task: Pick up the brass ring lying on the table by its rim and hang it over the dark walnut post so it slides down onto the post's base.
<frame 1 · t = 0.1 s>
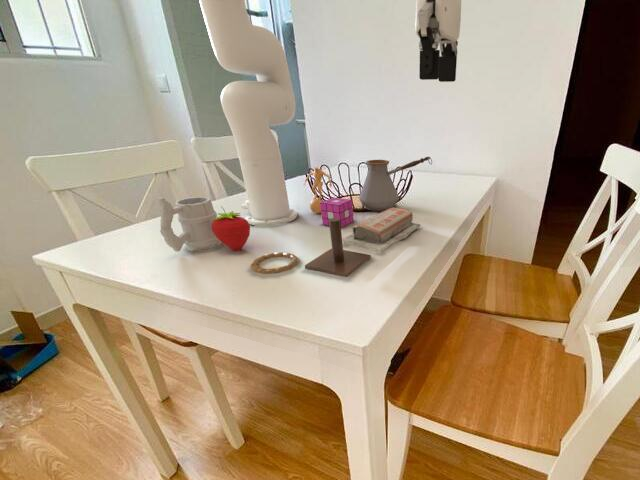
hand: (438, 80, 60), 31 cm above the table, tool pointing down, fingers open, 9 cm apart
strawberry: (237, 253, 71), on the table
brown peg stand: (339, 265, 66), on the table
packaged product: (383, 237, 79), on the table
coffee pot: (394, 209, 99), on the table
ring: (275, 263, 65), point 1 cm above the table
figurine: (320, 212, 96), on the table
mug: (198, 249, 73), on the table
puzzle toy: (338, 223, 88), on the table
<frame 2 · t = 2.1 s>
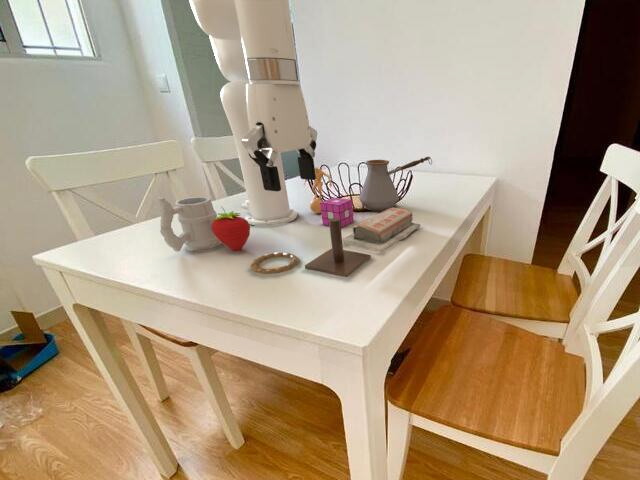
hand: (291, 184, 62), 15 cm above the table, tool pointing down, fingers open, 9 cm apart
nothing on the table moved.
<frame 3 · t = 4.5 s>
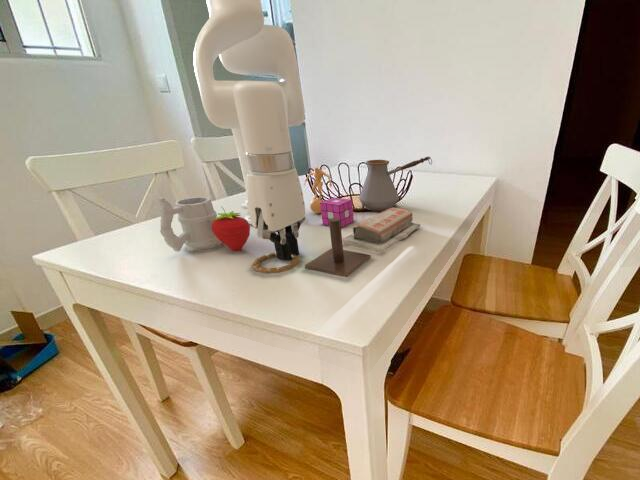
hand: (288, 258, 68), 0 cm above the table, tool pointing down, fingers closed on ring, 1 cm apart
ring: (276, 262, 65), point 1 cm above the table, touching gripper
everything else where it was.
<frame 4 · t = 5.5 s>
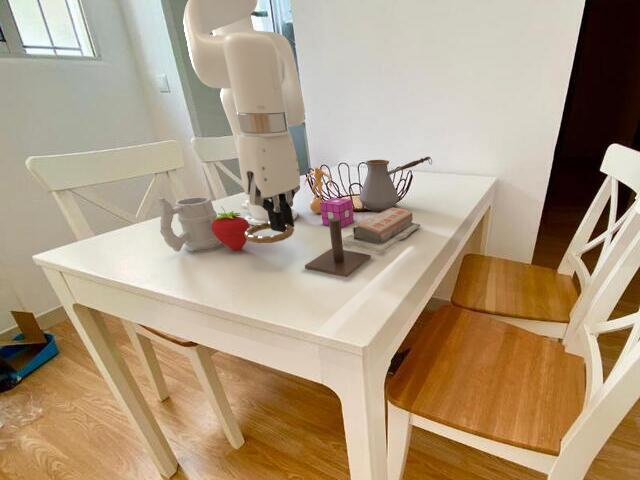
hand: (282, 228, 66), 6 cm above the table, tool pointing down, fingers closed on ring, 1 cm apart
ring: (269, 232, 63), point 7 cm above the table, touching gripper
everything else where it was.
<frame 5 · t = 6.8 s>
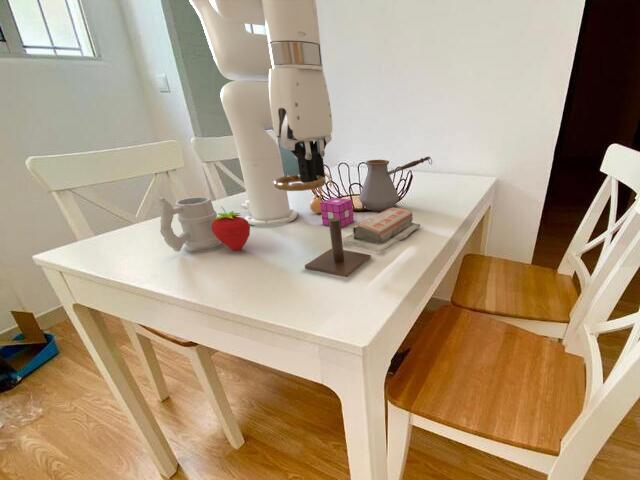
hand: (313, 180, 61), 15 cm above the table, tool pointing down, fingers closed on ring, 1 cm apart
ring: (300, 182, 58), point 16 cm above the table, touching gripper
everything else where it was.
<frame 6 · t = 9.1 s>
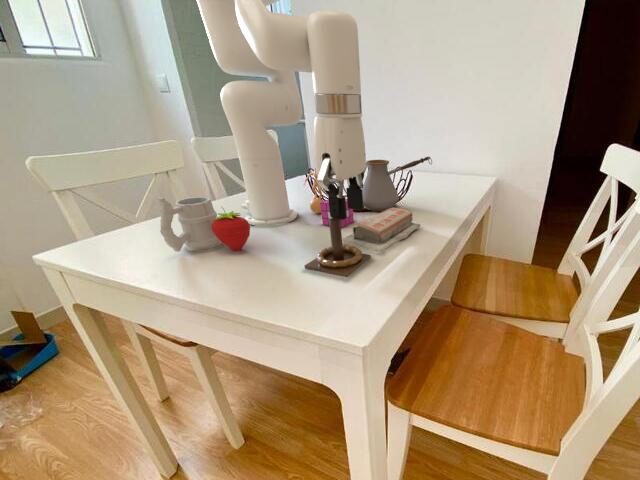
hand: (347, 212, 65), 9 cm above the table, tool pointing down, fingers open, 5 cm apart
ring: (339, 255, 65), point 2 cm above the table, touching brown peg stand
everything else where it was.
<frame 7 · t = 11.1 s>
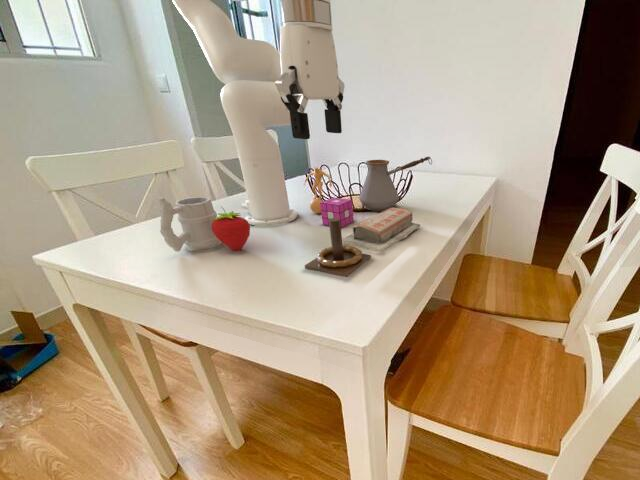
hand: (318, 135, 62), 22 cm above the table, tool pointing down, fingers open, 9 cm apart
nothing on the table moved.
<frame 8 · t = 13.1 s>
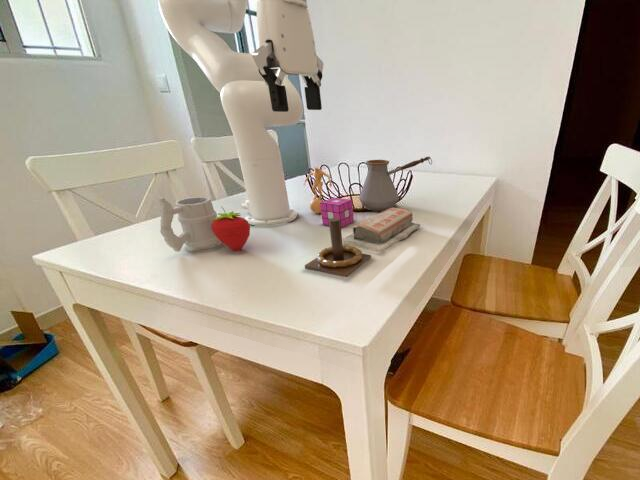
hand: (298, 110, 65), 26 cm above the table, tool pointing down, fingers open, 9 cm apart
nothing on the table moved.
at the end: ring 0.5 cm from the brown peg stand (horizontally); ring point 1.8 cm above the table; the gripper is holding nothing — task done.
